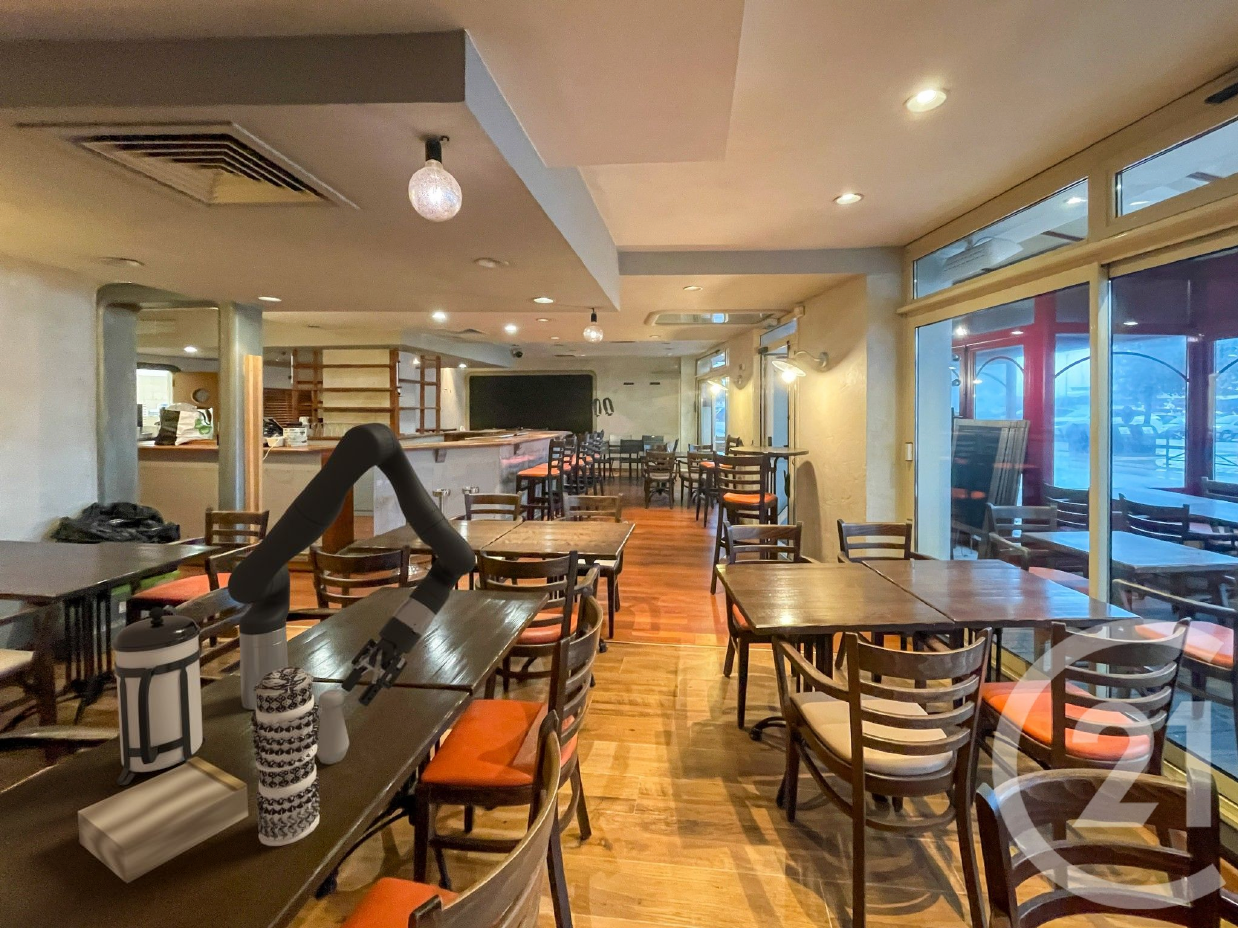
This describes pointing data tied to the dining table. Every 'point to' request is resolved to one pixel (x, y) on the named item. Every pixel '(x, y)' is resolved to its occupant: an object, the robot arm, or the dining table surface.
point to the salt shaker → (332, 728)
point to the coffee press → (158, 693)
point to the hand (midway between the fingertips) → (353, 696)
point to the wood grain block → (162, 817)
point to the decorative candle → (286, 756)
